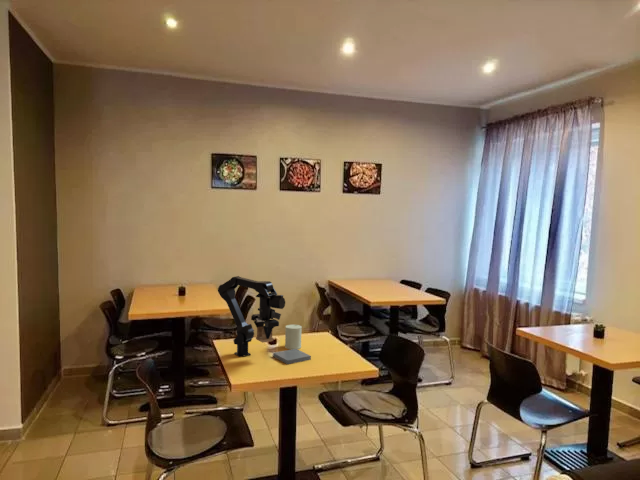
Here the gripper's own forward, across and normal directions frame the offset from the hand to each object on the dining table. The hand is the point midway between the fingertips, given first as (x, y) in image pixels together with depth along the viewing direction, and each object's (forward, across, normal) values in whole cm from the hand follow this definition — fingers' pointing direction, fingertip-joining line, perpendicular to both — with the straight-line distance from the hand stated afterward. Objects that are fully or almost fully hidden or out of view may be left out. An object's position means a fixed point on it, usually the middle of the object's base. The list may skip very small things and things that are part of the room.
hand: (264, 337), depth 230 cm
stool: (+2, 0, 0) cm, 2 cm away
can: (+12, +10, -24) cm, 28 cm away
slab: (+11, -6, -13) cm, 18 cm away
